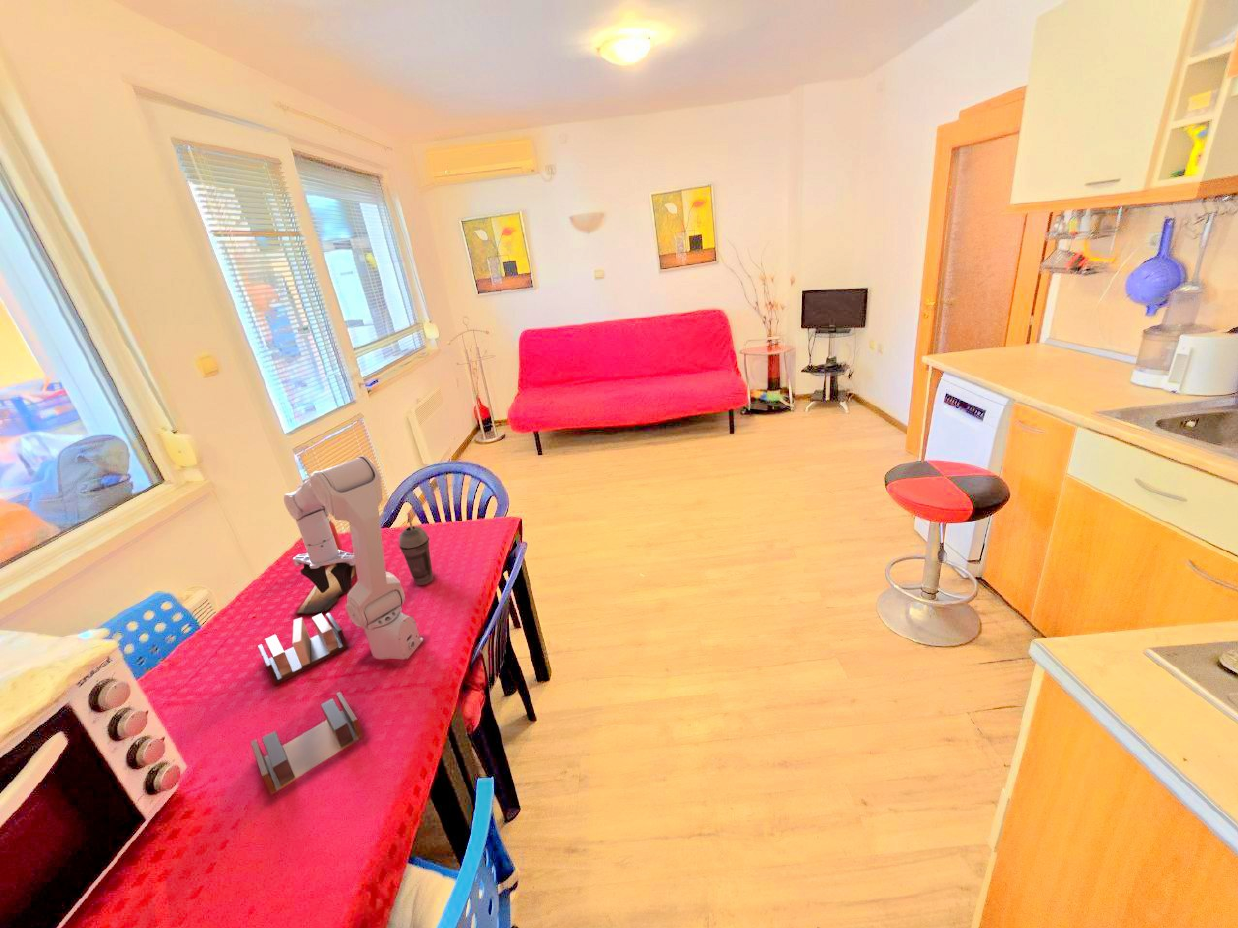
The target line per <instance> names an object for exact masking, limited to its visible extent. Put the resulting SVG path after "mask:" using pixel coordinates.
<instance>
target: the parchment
mask: <svg viewBox="0 0 1238 928" xmlns="http://www.w3.org/2000/svg"><path fill="white" fill-rule="evenodd" d="M335 566H337V565H336V564H330V565H328V567H327V568H326V569H325V570H326V575H327V579H328V582H329V588H328V589H327V590H326V591H325V592H324V593H321V592H320V590H319V589H318V588H317V587H316V585H315V584H314V586H313V588H312V589H311V591H310V592H309V594H308V595H307V596H306V598H305V599H304V601H303V603H302V604H301V606H300V607H299V609H297V611H296V612H295V614H296V615H297V614H304V615H305V614H306V615H310V614H315V613H320V612H321V613H326V612H327V611H329V609H332V607H333V606H334V605H336V603H337V601H338V599H339V597H340V596H342V595H344V594H345V593H343V591H342V589H341V587H340V585H339V582H338V580H337V579H336V577H335V576H334V575H333V574H332V573H331V572H330V571H331V570H332V569H333V568H334V567H335ZM356 573H357V572H356V566H355V565H353V569H352V574H351V581H352V580H353V579H354V577H355V576H356Z"/></svg>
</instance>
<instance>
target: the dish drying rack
mask: <svg viewBox="0 0 1238 928" xmlns="http://www.w3.org/2000/svg"><path fill="white" fill-rule="evenodd" d="M311 620H312V623H313V625H314V628H315V630H316V633H317V634H316V635H314V636H312V637H310V663H309V664H307V665H304V666H301V664H300V662H299V659H298V657H297V654H296V652H295V649H294V647H293V646H292V647H289V648H287V649H285V650H284V648H283V645H282V644H281V642H280V639H279V638H278V636H277V634H276V633H275V634H273V635H271V636H269V637H267V638H264V641H265V643H266V646H267V648H268V651H269V652H270V656H271V657H269V656H268V654H267V651H266V649H265V647H264V645H263V643H260V644H258V645H257V649H258V650H259V652H260V655H261V657H262V659H263V662H264V664H265V667H266V669H267V670H268V674H269V676H270V678H271V680H272V681H273V684H274V686H277V685H279V684H281V683H283V682H285V681H287V680H289V679H292V678H293V677H295V676H297V675H300V673H303V672H304V671H307V670H308V669H310V668H313V667H315V666H317V665H318V664H320V663H322V662H324V661H326V660H328V659H330V658H332V657H334V656H337V654H339V653H342V652H343V651H346V650H348V649H349V646H348V643H347V640H346V637H345V634H344V631H343V629H342V628H341V626H340V625H339V623H337V621H336V620H335V618H334V617H333V615H332V614H331V612H327V613H326V614H325V616H324V615H323V612H321V613H318V614H316V615H314V616H311Z"/></svg>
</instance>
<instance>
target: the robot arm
mask: <svg viewBox="0 0 1238 928" xmlns="http://www.w3.org/2000/svg"><path fill="white" fill-rule="evenodd" d="M382 485H383V484H382V476H381V474H380V472H379V470H378V468H377V466H376V464H375V463H374V461H373V460H372V459H370V458H369V457H367V456H366V455H360V456H358V457H357V458H354V459H351V460H347V461H345V462H342V463H339V464H337V465H334V466H333V465H332V466H330V467H328V468H326V469H322V470H319V471H318V470H316V471H314V472H312V473H311V474H310V475H309V476H308V477H306V478H303V479H302V484H300V485H298V487H297V489H296V491H293V492H290V493H285V494H284V496H283V502H284V505H285V508H286V510H287V512H288V514H289V515H290V517H291V518H292V519H293V520H295V523H296V525H297V528H298V531H299V533H300V536H301V540H302V542H303V545H304V548H305V549H306V553H298V554H297V555H295V556H294V557H293V558H292V561H293V563H294V566H295V567H300V566H301V565H303V568H302V569H300V574H301V575H303V576H304V577H306V578H307V579H308V580H310V581H311V583H313V584H314V586H315V585H316V587H317V588H318V589H319V590H320V592H321V593H324V592H325V591H326V590H327V589H328V588H329V582H328V579H327V575H326V570H327V569H326V566H330V564H336V565H337V566H335V567H334V568H333V569H332V570H331V571H330V572H331V573H332V574H333V575H334V576H335V577H336V579H337V580H338V582H339V585H340V587H341V589H342V591H343V593H344V594H346V597H347V599H346V600H347V601H346V605H345V610H346V613H347V616H348V617H349V619H350V621H351V622H352V623H353V624H354V626H356V627H357V628H361V629H363V632H364V634H365V638H366V640H367V643H368V647H369V649H370V652H371V655H372V657H373V658H374V659H376V660H388V659H392V660H394V659H395V660H408V659H409V658H410V657H411V656H412V655H413V654H414V652H415V651H416V650H417V649H418V648H419V646H420V645H421V644H422V643H423V642H424V638H423V637H421V636H420V633H419V629H418V626H417V622H416V620H415V618H414V617H413V616H410V615H407V614H405V613H403V612H402V611H403V608H402V606H403V605H405V602H406V601H405V600H406V595H405V592H404V589H403V586H402V583H401V581H400V580H399V579H398V577H397V576H396V575H394V574H393V573H392V572H390V571H386V563H385V554H384V553H385V552H384V545H383V537H382V526H381V517H380V510H379V506H380V505H381V503H382V502H383V499H384V497H383V486H382ZM329 516H331V517H333V519H334V520H335V521H344V522H348V525H349V531H350V539H351V544H352V545H351V546H352V552H353V553H352V552H349V551H344V550H343V551H341V550H338V548H337V545H336V542H335V539H334V536H333V533H332V530H331V527H330V524H329V521H328V517H329ZM353 565H355V566H356V572H355V573H356V578H357V581H356V582H355V584H354V585H353V586H352V580H351V574H352V569H353Z"/></svg>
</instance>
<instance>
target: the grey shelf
mask: <svg viewBox="0 0 1238 928" xmlns="http://www.w3.org/2000/svg"><path fill="white" fill-rule="evenodd" d="M335 695H336V698H337V700H338V704H339V706H340V708H339V707H338V705H337V703H336V702H335V699H334V698H333V697H332V698H330V699H328V700H326V701H324V702H323V703H321V704H320V707H321V709H322V712H323V715H324V717H325V720H323V721H322V722H320V723H318V724H317V725H315V726H313V727H312V728H310V729H308V730H307V731H305V732H303V733H301V734H299V735H297V736H296V737H294V738H293V739H291V740H290V741H287V742H286V743H284V744H282V742H281V739H280V737H279V735H278V733H277V731H276V730H273V731H272V732H269V733H268V734H266V735H265V736H263V737H261V740H262V743H263V746H264V749H265V751H266V755H265V754H264V753H263V750H262V748H261V745H260V744H259V742H258V740H257V739H256V738H255V739H254V740H252V741H250V745H251V748H252V750H253V751H252V752H253V754H254V757H255V760H256V763H257V766H258V769H259V772H260V776H261V778H262V780H263V781H264V784H265V786H266V788H267V790H268V792H269V794H270V795H271V796H272V795H273V794H275V793H277V792H278V791H279V790H281V789H283V788H284V787H286V786H287V785H289V784H291V783H292V782H294V781H295V780H297V779H299V778H300V777H301V776H303V775H305V774H306V773H308V772H310V771H312V770H313V769H314V768H316V767H317V766H319V765H320V764H323V762H325V761H327V760H328V759H330V758H332V757H333V756H335V755H336V754H338V753H340V752H341V751H343V750H345V749H346V748H347V747H349V746H351V745H352V744H354V743H355V742H357V741H359V740H361V738H363V737H364V733H363V730H362V728H361V725H360V723H359V720H358V717H357V716H356V714H355V713H354V711H353V709H352V708H351V706H350V704H349V703H348V701H347V699H346V697H345V696H344V694H343V693H342V691H339V692H337V693H335Z"/></svg>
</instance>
